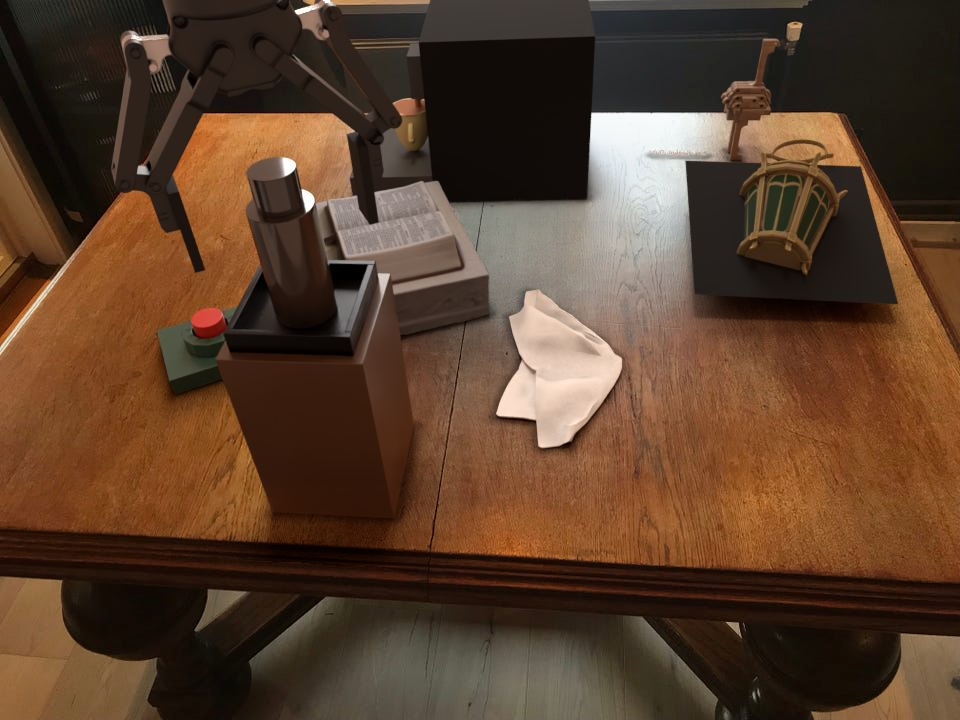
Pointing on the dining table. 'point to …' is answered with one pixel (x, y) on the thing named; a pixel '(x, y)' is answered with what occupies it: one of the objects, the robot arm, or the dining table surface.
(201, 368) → the base
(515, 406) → the cloth
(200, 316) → the button
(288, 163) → the metal bottle
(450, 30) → the coffee maker
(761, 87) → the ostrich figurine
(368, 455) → the brown pedestal
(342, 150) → the dining table surface
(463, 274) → the bible
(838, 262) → the lantern
